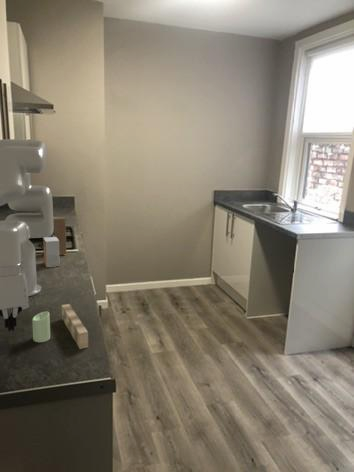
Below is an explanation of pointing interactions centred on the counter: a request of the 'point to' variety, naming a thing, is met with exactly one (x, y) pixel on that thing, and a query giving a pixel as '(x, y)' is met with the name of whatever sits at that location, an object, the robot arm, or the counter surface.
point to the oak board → (75, 326)
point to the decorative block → (60, 233)
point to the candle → (41, 327)
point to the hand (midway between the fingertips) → (10, 328)
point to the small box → (51, 251)
